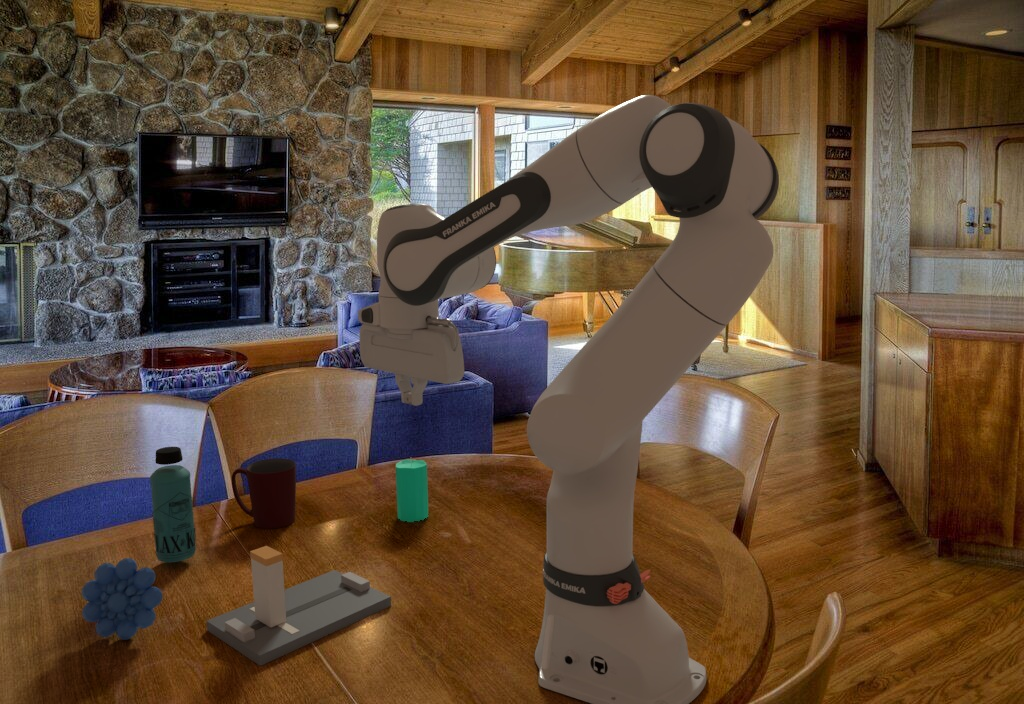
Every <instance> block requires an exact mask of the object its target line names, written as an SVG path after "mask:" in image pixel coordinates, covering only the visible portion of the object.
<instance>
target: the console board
mask: <svg viewBox="0 0 1024 704" xmlns="http://www.w3.org/2000/svg"><path fill="white" fill-rule="evenodd" d="M284 591H285V607H286V621H285V622H283V623H281V624H278V625H276V626H274V627H271V628H270V627H269V626H267V625H266V624H264V623H262V622H261V621H259V620H257V619H256V618H255V607H254V601H252V602H250V603H248V604H245V605H243V606H240V607H237V608H234V609H233V610H230V611H227V612H225V613H222V614H219V615H217V616H214V617H212V618H209V619H207V620H206V629H207V630H206V631H208V632H209V633H210V634H212V635H213V636H215V637H216V638H218V639H220V640H221V641H223V643H225V644H227V645H228V646H230V647H231V648H233V649H234V650H236V651H237V652H239V653H240V654H242V655H243V656H245V657H246V658H248V659H249V660H250V661H252V662H254V663H256V665H258V666H260V667H261V666H263V665H266V664H269V663H270V662H272V661H275V660H277V659H279V658H281V657H283V656H285V655H288V654H290V653H292V652H295V651H297V650H299V649H301V648H303V647H305V646H308V645H310V644H312V643H313V642H316V641H318V640H321V639H322V638H325V637H326V636H328V634H329V635H331V634H333V633H336V632H338V631H340V630H342V629H344V628H347V627H349V626H350V625H353V624H355V623H357V622H359V621H362V620H363V619H366V618H368V617H370V616H373V615H375V614H377V613H379V612H381V611H383V610H385V609H387V608H390V607H392V596H390V595H389V594H387V593H384V592H382V591H380V590H378V589H376V588H374V587H371V583H370V580H368V579H366V578H364V577H362V576H359V575H358V574H356V573H353V572H351V571H347V572H346V573H343V572H340V571H338V570H337V569H334V570H330V571H328V572H326V573H323V574H321V575H318V576H315V577H313V578H311V579H308V580H305V581H302V582H300V583H298V584H295V585H293V586H289V587H288V588H284ZM337 630H338V631H337ZM335 631H336V632H335ZM324 636H325V637H324Z"/></svg>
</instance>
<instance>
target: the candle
mask: <svg viewBox="0 0 1024 704" xmlns="http://www.w3.org/2000/svg"><path fill="white" fill-rule="evenodd" d="M395 483H396V484H395V485H396V507H397V508H396V509H397V511H396V512H397V519H398V520H399V519H400V520H399V521H401V522H405V521H407V522H406V523H415V522H414V521H418V522H421V521H420V520H422V521H424V519H425V518H426V519H428V518H429V515H428V514H429V489H428V486H429V485H428V464H427V462H426V461H425V460H423V459H421V460H416V459H411V458H410V459H409V458H407V459H404V460H400V461H397V462H396V463H395ZM427 517H428V518H427ZM426 519H425V520H426Z"/></svg>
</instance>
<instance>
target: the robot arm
mask: <svg viewBox="0 0 1024 704" xmlns="http://www.w3.org/2000/svg"><path fill="white" fill-rule="evenodd" d="M779 186H780V176H779V171H778V167H777V163H776V162H775V160H774V157H772V155H771V153H770V152H769V150H768V149H767V148H766V147H764V146H763V144H761V143H759V142H758V141H757V140H756V139H755V138H754V137H753V135H752V134H751V132H749V131H748V129H747V128H745V127H744V126H743V125H741V124H740V123H738V122H737V121H735V120H733V119H731V118H730V117H728V116H725V115H724V114H723V113H722V112H720V111H719V110H718V109H716V108H714V107H711V106H708V105H706V104H702V103H697V102H696V103H695V102H683V103H682V102H681V103H677V104H673V105H671V104H670V103H669V102H667V101H666V100H665V99H663V98H661V97H660V96H656V95H652V94H644V95H640V96H637V97H634V98H632V99H629V100H627V101H624V102H623V103H621V104H618V105H617V106H615V107H612V108H611V109H609V110H607V111H605V112H603V113H601V114H600V115H598V116H596V117H594V118H593V119H591V120H590V121H588V122H587V123H585V124H584V125H582V126H581V127H579V128H577V129H576V130H575V131H573V132H571V134H569V135H568V136H566V137H565V138H564V139H563V140H561V141H559V142H558V143H557V144H555V145H553V147H551V148H550V149H549V150H548V151H546V152H545V153H544V154H542V155H541V156H539V158H537V159H536V160H534V161H533V162H531V163H530V164H528V165H527V166H526V167H524V168H523V169H521V170H520V171H518V172H517V173H516V174H514V175H513V176H511V177H510V178H508V179H507V180H506V181H504V182H502V183H501V184H500V185H498V186H496V187H494V188H493V189H491V190H489V191H487V192H486V193H484V194H483V195H480V196H479V197H478V198H477V199H475V200H473V201H471V202H470V203H468V204H467V205H465V206H463V207H462V208H460V209H458V210H457V211H455V212H453V213H452V214H450V215H449V216H447V217H444V216H443V215H441V214H439V213H438V212H437V211H436V210H435V209H434V208H433V207H432V206H431V205H430V204H427V203H424V202H420V203H419V202H418V203H416V202H415V203H408V204H400V205H395V206H392V207H389V208H387V209H386V210H384V211H383V212H382V213H381V215H380V218H379V220H378V225H377V233H376V265H377V269H378V272H379V276H380V285H379V287H378V288H379V289H378V302H374V303H373V304H371V305H368V306H365V307H362V308H360V309H358V312H357V318H358V321H359V323H361V326H360V328H359V353H360V354H359V355H360V360H361V362H362V364H363V366H364V368H367V369H372V370H376V371H382V372H385V373H391V374H395V376H394V378H395V383H396V385H397V386H398V389H399V391H400V394H401V395H400V397H401V402H402V403H403V404H406V405H407V404H408V405H411V406H415V407H416V406H420V405H422V404H423V401H424V400H423V399H424V398H423V393H424V391H425V390H426V387H427V385H428V381H429V382H435V383H438V384H445V385H448V384H453V383H456V382H460V381H462V379H463V377H464V375H465V362H464V361H465V360H464V354H463V353H464V352H463V346H462V340H461V338H460V331H459V328H458V327H457V326H456V325H455V324H454V323H453V321H452V319H449V318H440V316H439V315H440V314H439V311H440V310H439V300H442V299H447V298H451V297H452V298H453V297H458V296H461V295H466V294H471V293H473V292H476V291H479V290H481V289H483V288H485V287H487V285H488V284H489V283H490V282H491V280H492V279H493V277H494V275H495V272H496V268H497V257H496V250H495V247H497V246H499V245H500V244H503V243H504V242H505V241H508V240H510V239H512V238H515V237H518V236H520V235H523V234H528V233H531V232H537V231H542V230H547V229H553V228H554V229H555V228H563V227H568V226H569V227H571V226H575V225H579V224H583V223H585V222H589V221H592V220H594V219H596V218H599V217H601V216H604V215H606V214H608V213H610V212H612V211H614V210H616V209H617V208H619V207H621V206H622V205H625V203H627V202H629V201H630V200H632V199H634V198H635V197H636V196H638V195H640V194H641V193H643V192H645V191H647V190H648V189H651V188H652V189H653V191H654V192H655V193H656V196H658V198H659V201H660V202H661V204H662V206H663V209H665V212H666V213H667V215H669V216H670V217H673V218H678V219H679V226H678V231H677V232H676V235H675V237H674V238H673V240H672V241H671V243H670V244H669V246H668V247H667V249H665V251H663V253H662V254H661V255H660V257H658V259H657V260H656V262H655V263H654V264H653V265H652V266H651V268H650V269H649V270H648V271H647V272H646V273H645V275H644V276H643V277H642V278H641V280H640V281H639V282H638V283H637V284H636V286H635V287H634V288H633V289H632V290H631V292H630V293H629V294H628V295H627V297H626V298H625V299H624V300H623V301H622V302H621V304H620V305H619V307H618V308H617V309H616V310H615V311H614V313H612V315H611V316H610V317H609V318H608V319H607V320H606V321H605V323H604V324H603V325H602V326H601V327H600V328H598V330H597V331H596V332H595V333H594V334H593V336H592V337H590V339H589V340H588V341H587V342H586V343H585V344H584V345H583V347H582V348H580V350H579V351H578V352H576V354H575V355H574V356H573V357H572V358H571V360H570V361H569V362H568V363H567V364H566V365H565V366H564V367H563V369H562V370H561V371H560V372H559V373H558V374H557V375H556V377H555V378H554V379H553V381H552V382H550V384H549V385H548V386H547V387H546V389H544V391H543V392H542V393H541V394H540V396H539V397H538V398H537V401H536V402H535V404H534V405H533V406H532V409H531V412H530V415H529V416H528V420H527V423H526V425H527V426H526V436H527V440H528V444H529V447H530V449H531V450H532V451H531V452H532V453H533V454H534V456H535V457H536V458H537V460H539V462H540V463H542V464H543V465H544V466H546V467H547V468H548V469H551V470H553V472H552V476H551V480H550V485H549V489H548V491H547V495H546V552H545V553H544V554H543V563H542V564H543V567H542V576H543V577H542V581H543V585H544V587H545V599H544V609H543V617H542V623H541V630H540V634H539V638H538V643H537V645H536V648H535V650H534V660H535V664H536V665H537V668H538V670H539V671H538V678H537V679H538V680H537V681H538V685H539V687H542V688H544V689H546V690H550V691H552V692H555V693H558V694H562V695H564V696H568V697H570V698H575V699H577V700H579V701H583V702H586V703H589V704H690V703H692V701H694V700H695V699H696V698H697V697H698V696H699V695H700V694H701V692H702V691H703V690H704V688H705V687H706V683H707V679H708V678H707V669H706V666H704V665H703V664H701V663H700V662H699V661H696V660H694V659H693V658H691V657H689V656H690V655H689V649H688V642H687V638H686V635H685V631H684V630H683V628H682V627H681V626H680V625H679V624H678V623H677V622H676V621H675V619H673V618H672V617H671V616H670V615H669V613H668V612H667V611H666V610H665V609H663V607H662V606H660V604H659V603H658V602H657V601H656V600H655V599H654V598H653V596H652V595H650V594H649V592H648V591H647V590H646V589H645V584H644V582H646V581H647V580H649V579H650V578H651V575H649V574H650V573H651V571H652V570H651V569H650V568H648V569H646V570H645V571H643V572H642V573H641V571H640V569H639V568H640V567H639V565H638V562H637V559H636V558H635V555H634V554H633V543H634V542H633V539H634V535H633V534H634V501H635V490H636V482H637V476H638V467H639V462H640V461H639V459H640V451H641V443H642V432H643V422H644V421H643V420H644V419H645V418H646V417H647V416H648V415H649V414H650V413H651V411H652V410H653V409H654V408H655V407H656V406H657V405H658V404H659V403H660V402H661V400H662V399H663V398H664V397H665V396H666V394H668V392H669V391H670V390H671V389H672V388H673V387H674V386H675V384H676V383H678V381H679V380H680V379H681V378H682V376H683V375H684V374H685V373H686V372H687V371H688V370H689V368H691V367H692V365H694V363H695V362H696V360H697V359H699V358H700V356H701V355H702V354H703V353H704V351H706V349H708V347H709V346H710V345H711V343H713V342H714V340H716V338H717V337H718V336H719V335H720V334H721V333H722V331H723V330H724V329H725V328H726V327H727V325H729V323H730V322H731V321H732V320H733V319H734V317H735V316H736V315H737V314H738V313H739V312H740V310H741V309H742V308H743V307H744V305H745V304H746V303H747V301H748V300H749V298H750V297H751V296H752V294H753V293H754V291H755V289H756V288H757V287H758V285H759V283H760V282H761V280H762V279H763V277H764V275H765V273H766V272H767V270H768V269H769V266H770V265H771V262H772V260H773V258H774V245H773V241H772V238H771V236H770V235H769V233H768V231H767V229H766V227H764V225H763V223H761V222H760V221H759V220H758V218H760V217H761V216H763V215H764V214H765V213H767V212H768V211H769V209H770V207H771V206H772V205H773V203H774V201H775V200H776V198H777V197H776V196H777V194H778V191H779ZM412 385H413V386H412Z"/></svg>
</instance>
